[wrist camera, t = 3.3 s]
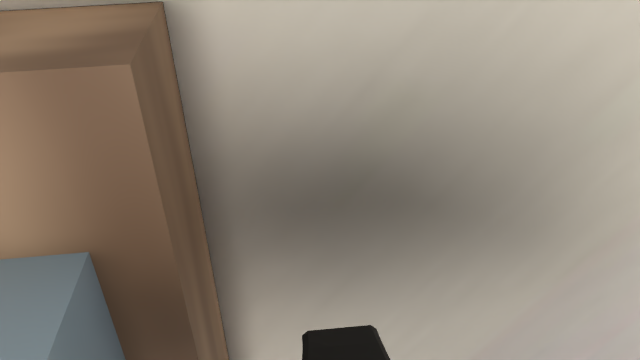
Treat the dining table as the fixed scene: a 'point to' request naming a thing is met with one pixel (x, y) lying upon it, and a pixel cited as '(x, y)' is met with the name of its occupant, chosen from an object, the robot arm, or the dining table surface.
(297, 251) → the dining table surface
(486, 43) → the dining table surface
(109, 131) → the bench board
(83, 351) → the pale blue block
